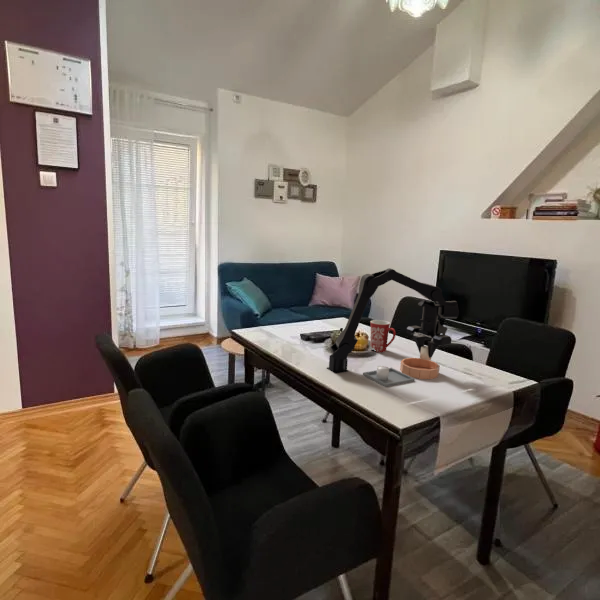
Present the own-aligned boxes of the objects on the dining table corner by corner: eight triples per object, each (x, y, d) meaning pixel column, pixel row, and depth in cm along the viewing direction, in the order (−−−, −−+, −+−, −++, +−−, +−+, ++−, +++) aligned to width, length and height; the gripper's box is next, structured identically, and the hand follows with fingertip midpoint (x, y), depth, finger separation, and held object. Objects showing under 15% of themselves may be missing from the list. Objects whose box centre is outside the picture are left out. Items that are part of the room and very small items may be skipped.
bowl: (419, 382, 156) (420, 372, 155) (393, 369, 168) (393, 360, 168) (446, 376, 163) (447, 367, 162) (419, 365, 175) (420, 356, 175)
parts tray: (384, 388, 149) (385, 384, 149) (362, 376, 160) (362, 372, 160) (414, 382, 156) (414, 378, 156) (391, 371, 167) (391, 367, 167)
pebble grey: (381, 381, 153) (382, 370, 153) (373, 377, 157) (374, 366, 156) (390, 380, 156) (391, 368, 155) (382, 376, 159) (383, 365, 159)
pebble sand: (425, 360, 163) (426, 349, 162) (417, 357, 167) (418, 346, 166) (433, 359, 165) (434, 348, 164) (425, 355, 169) (426, 345, 168)
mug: (364, 349, 194) (366, 321, 192) (375, 346, 201) (377, 318, 198) (387, 356, 185) (389, 327, 183) (398, 352, 192) (400, 324, 189)
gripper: (463, 321, 159) (458, 360, 162) (426, 311, 175) (423, 347, 178) (443, 323, 154) (438, 364, 156) (407, 313, 169) (403, 349, 172)
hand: (425, 355), depth 166 cm, fingers closed on pebble sand, 4 cm apart
